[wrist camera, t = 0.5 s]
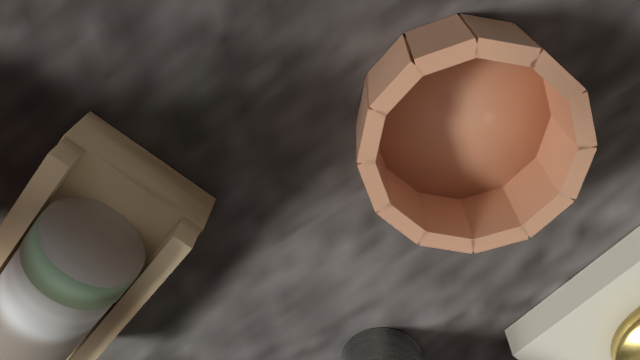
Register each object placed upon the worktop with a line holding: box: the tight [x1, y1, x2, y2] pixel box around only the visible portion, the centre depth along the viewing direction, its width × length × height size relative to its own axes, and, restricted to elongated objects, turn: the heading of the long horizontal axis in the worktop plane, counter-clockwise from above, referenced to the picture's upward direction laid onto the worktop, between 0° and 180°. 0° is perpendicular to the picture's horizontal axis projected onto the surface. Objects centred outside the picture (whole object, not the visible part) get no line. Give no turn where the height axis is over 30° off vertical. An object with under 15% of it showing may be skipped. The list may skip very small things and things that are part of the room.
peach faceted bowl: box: [356, 13, 597, 254], centre depth 21 cm, size 8×8×4 cm
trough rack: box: [0, 111, 216, 360], centre depth 23 cm, size 10×6×6 cm, turn 141°
